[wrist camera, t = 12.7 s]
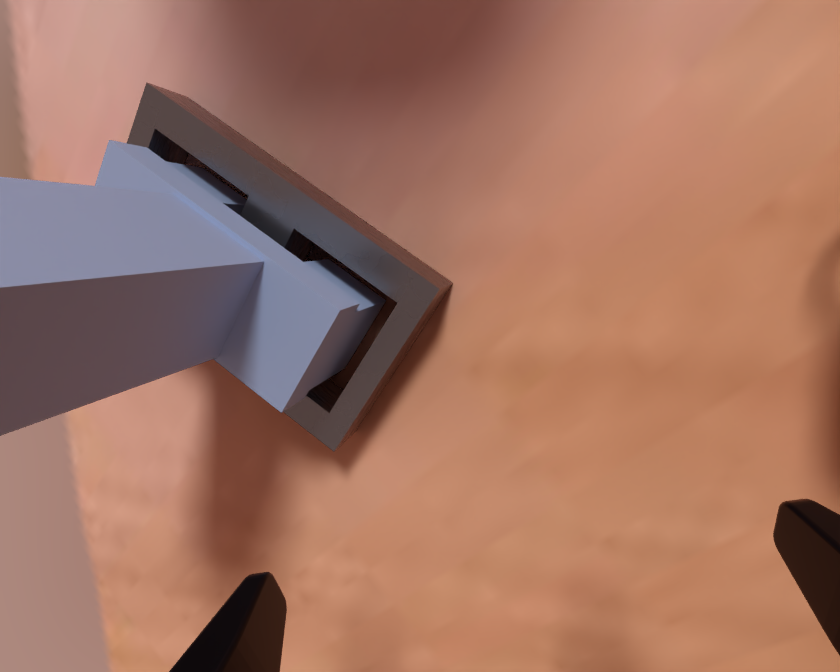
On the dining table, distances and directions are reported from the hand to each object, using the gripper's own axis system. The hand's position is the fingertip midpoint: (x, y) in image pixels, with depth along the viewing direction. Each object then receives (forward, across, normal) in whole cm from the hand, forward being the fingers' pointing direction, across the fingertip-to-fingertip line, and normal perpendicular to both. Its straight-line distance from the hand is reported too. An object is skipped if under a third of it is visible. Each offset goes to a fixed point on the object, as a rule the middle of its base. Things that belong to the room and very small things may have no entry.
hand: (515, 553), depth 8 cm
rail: (+14, +8, -2) cm, 16 cm away
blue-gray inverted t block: (+14, +8, -2) cm, 16 cm away
